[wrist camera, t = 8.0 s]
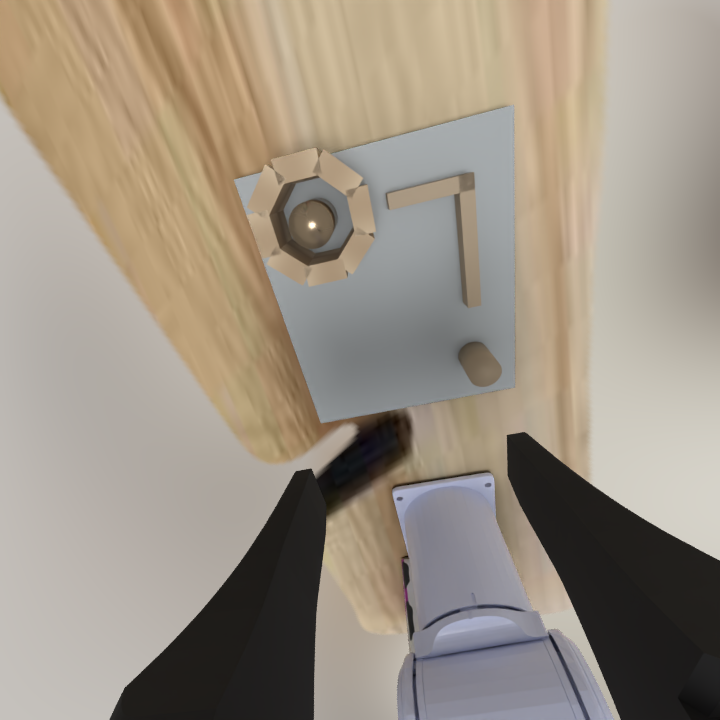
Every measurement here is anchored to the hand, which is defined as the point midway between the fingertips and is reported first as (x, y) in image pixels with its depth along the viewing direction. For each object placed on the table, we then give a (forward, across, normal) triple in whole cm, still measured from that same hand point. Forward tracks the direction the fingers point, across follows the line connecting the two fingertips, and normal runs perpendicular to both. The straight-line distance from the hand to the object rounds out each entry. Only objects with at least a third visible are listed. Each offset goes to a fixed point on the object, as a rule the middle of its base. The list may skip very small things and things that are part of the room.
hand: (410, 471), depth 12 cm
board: (+10, -1, -4) cm, 11 cm away
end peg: (+9, +2, -8) cm, 13 cm away
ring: (+9, +2, -8) cm, 13 cm away
